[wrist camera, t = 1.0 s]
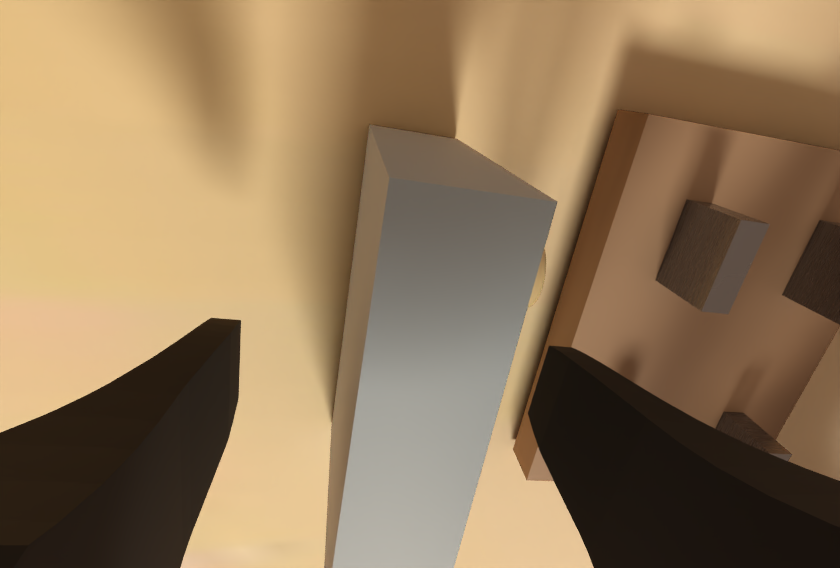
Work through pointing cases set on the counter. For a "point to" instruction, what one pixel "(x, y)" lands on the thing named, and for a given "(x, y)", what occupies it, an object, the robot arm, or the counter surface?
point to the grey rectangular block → (426, 344)
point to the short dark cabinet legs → (724, 275)
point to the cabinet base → (670, 314)
